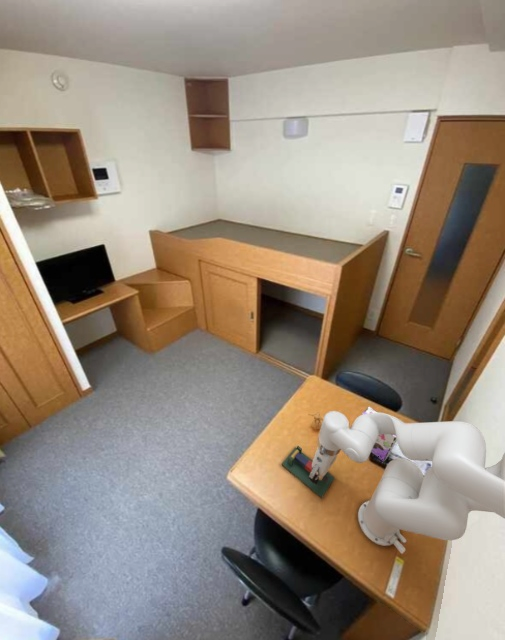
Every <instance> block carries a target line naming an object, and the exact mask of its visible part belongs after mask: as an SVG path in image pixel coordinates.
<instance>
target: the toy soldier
mask: <svg viewBox="0 0 505 640" xmlns="http://www.w3.org/2000/svg"><path fill="white" fill-rule="evenodd" d="M291 458H293V459H294V458H295V460H296V461H297V462H298V463H300V464H301V465H302V466H303V467H305V469H306V470H307V471H308V472H311V470H312V469H313V468H312V462H311V461H310V460H308V459H306V458H305V457H304V456H303V455H301V454H300V453H299V450H296V451H295V452H294V453H293V454H292V456H291ZM316 475H318V472H316ZM328 478H329V477H328V476H327V475H326V474H325V475H324V476H322V475H319V480H322V481H323V482H325V483H326V481H327V480H328Z"/></svg>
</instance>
